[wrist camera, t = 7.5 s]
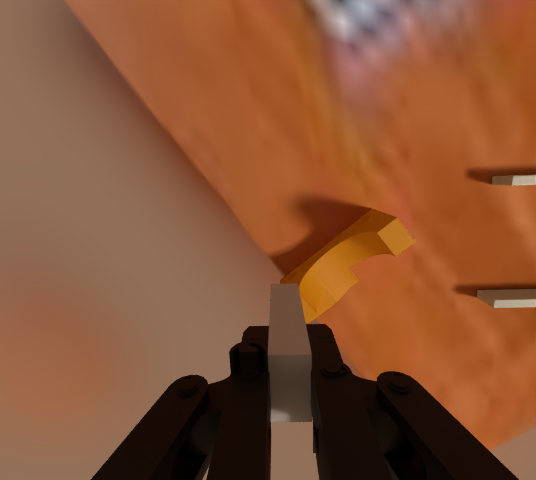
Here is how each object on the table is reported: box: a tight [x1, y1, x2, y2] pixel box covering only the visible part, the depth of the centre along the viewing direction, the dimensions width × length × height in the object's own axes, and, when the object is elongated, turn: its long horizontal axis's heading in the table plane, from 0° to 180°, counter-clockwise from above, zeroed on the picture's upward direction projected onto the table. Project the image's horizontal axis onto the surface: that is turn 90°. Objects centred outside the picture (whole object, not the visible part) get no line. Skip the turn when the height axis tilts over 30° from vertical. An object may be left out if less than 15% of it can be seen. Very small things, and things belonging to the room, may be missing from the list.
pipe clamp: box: [280, 209, 416, 323], centre depth 27 cm, size 12×4×6 cm, turn 130°
